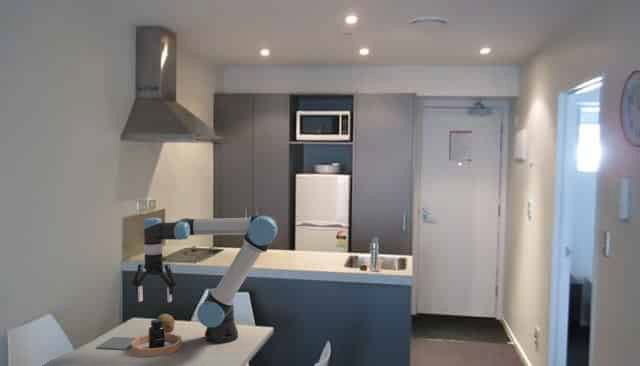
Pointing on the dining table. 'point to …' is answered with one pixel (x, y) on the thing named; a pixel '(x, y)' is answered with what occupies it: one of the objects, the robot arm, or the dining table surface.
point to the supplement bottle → (156, 334)
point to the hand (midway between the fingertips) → (155, 301)
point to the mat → (117, 343)
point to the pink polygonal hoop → (156, 351)
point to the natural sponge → (167, 322)
